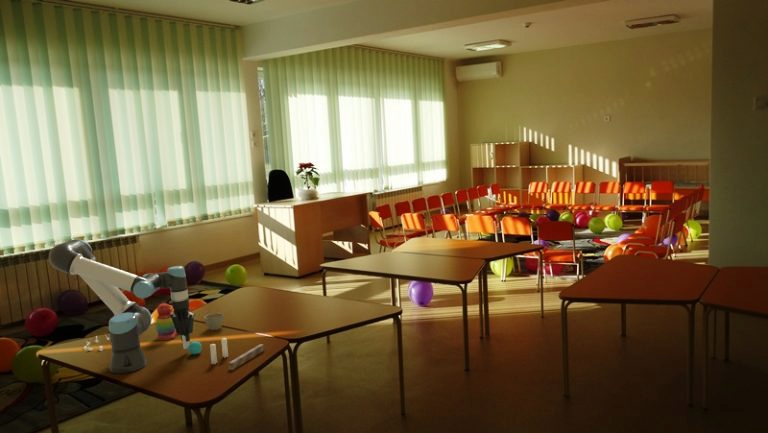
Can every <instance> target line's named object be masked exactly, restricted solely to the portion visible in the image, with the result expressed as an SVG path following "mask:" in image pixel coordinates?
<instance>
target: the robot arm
mask: <svg viewBox="0 0 768 433" xmlns="http://www.w3.org/2000/svg"><path fill="white" fill-rule="evenodd" d="M48 260H49V263H50V265H51V266H52V267H53V268H54V269H56V270H58V271H60V272H63V273H65V274H68V275H70V276H71V275H72V276H73V275H78V276H80V278H81V279H82V280H83V281H84V282H85V283H86V285H88V286H89V288H90V289H91V290H92V291H93V292H94V293H95V294H96V295H97V296H98V298H99V299H100V300H101V301H102V302H103V303H104V304H105V305H106V306H107V308H109V310H111V312H112V313H113V316H112V317H111V318H110V319H109V321H108V332H109V340H110V345H111V357H110V363H109V364H108V365H109V372H110V373H112V374H125V373H132V372H135V371H138V370H140V369H143V368H144V367H146V365H147V364H148V363H147V358H146V356H145V354H144V351H143V350H142V348H141V343H140V342H141V341H140V336H141V335H143V333H145V332H146V331H147V330H148V329H149V328H150V326H151V323H152V321H153V320H152V318H153V317H152V314H151V311H150V310H148V309H147V308H146V307H143V306H140V305H139V304H138V303H137V302H136V301H130V299H128V298H127V296H126V295H125V294H124V292H123V291H124V290H125V291H127V292H131V293H133V295H135V296H136V298H139V299H146V298H148V297H150V296H152V295H153V294H154V293H156V292H157V291H159V290H164V289H169V290H170V299H171V304H172V306H171V307H172V312H171V314H170V317H171V318H172V321H173V324H174V327H175V331H176V333H177V334H179V335H180V340H181V343H182V347H183V348H182V349H183V350H187V349H188V347H189V345H190V341H191V337H190V334H192V333H193V331H194V319H195V316H196V314H195V312H194V313H192V312H191V309H190V300H189V292H188V291H189V290H188V283H187V276H186V270H185V267H184V266H183V265H175V266H171V267H168V268H167V271H165V272H164V271H163V272H154V273H151V272H150V273H146V274H143V275H142V276H139V275H137V274H134V273H131V272H127V271H125V270H122V269H118V268H116V267H113V266H110V265H108V264H104V263H102V262H98V261H96V256H95V255H94V254H93V249H92V246H91V245H90V244H89V243H88V242H87V241H86V240H83V239H71V240H67V241H65V242H62V243H58V244H56V245H54V246H53V247H52V248H51V249H50V251H49V253H48ZM122 290H123V291H122Z"/></svg>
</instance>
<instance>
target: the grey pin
mask: <svg viewBox="0 0 768 433" xmlns="http://www.w3.org/2000/svg"><path fill="white" fill-rule="evenodd" d="M209 348H210V349H209V350H210V360H211V365H217V364H218V358H217V357H218V356H217V349H216V348H217V347H216V343H210V344H209ZM216 363H217V364H216Z"/></svg>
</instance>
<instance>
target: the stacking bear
mask: <svg viewBox="0 0 768 433" xmlns="http://www.w3.org/2000/svg"><path fill="white" fill-rule="evenodd" d="M156 311H157V314H158V315H157V317H156V320H155V329H156V332H157V340H161V341H172V340H174V339H176V337H177V336H179V335H180V334H177V333H176V330H175V327H174V324H173V321H172V318H171V317H170V314H172V313H173V307H172V306H171V305H170V304H169V303H166V302H163V303H161V304H159V305H158V306H157V308H156Z"/></svg>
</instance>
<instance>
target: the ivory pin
mask: <svg viewBox="0 0 768 433" xmlns="http://www.w3.org/2000/svg"><path fill="white" fill-rule="evenodd" d="M220 342H221V350H222V353H221V354H222V358H223V357H224V359H225V358H226V357H227V358H228V357H229V351H228V350H229V349H228V339H227V337H223V338H221V339H220Z"/></svg>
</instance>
